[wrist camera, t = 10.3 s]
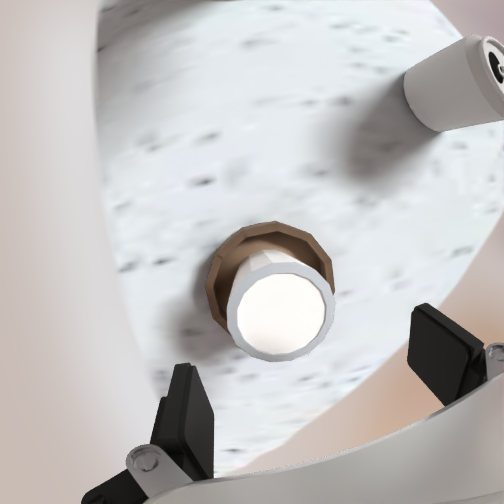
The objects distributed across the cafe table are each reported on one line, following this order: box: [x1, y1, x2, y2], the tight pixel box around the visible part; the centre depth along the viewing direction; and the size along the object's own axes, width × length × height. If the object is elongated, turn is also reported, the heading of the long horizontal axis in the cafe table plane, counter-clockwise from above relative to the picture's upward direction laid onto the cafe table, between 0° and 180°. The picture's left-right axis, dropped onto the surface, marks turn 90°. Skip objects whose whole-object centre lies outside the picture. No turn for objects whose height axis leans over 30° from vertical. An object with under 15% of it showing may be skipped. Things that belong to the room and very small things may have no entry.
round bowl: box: [205, 221, 335, 336], centre depth 24 cm, size 10×10×2 cm
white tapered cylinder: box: [227, 250, 335, 362], centre depth 20 cm, size 7×7×7 cm
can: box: [403, 34, 504, 132], centre depth 16 cm, size 8×8×12 cm
